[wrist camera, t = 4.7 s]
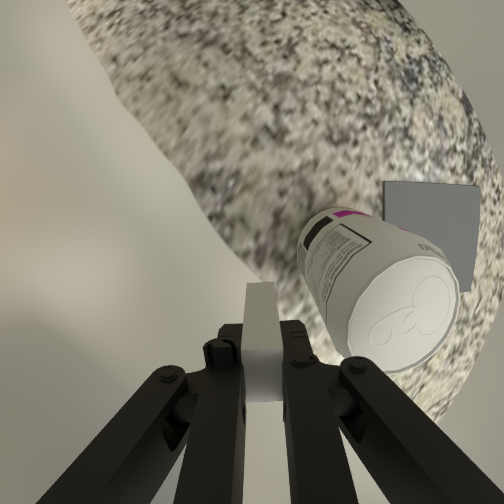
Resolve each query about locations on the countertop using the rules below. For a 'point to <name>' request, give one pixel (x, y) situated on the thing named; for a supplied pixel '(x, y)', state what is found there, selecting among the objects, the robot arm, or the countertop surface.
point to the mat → (439, 220)
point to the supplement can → (378, 288)
